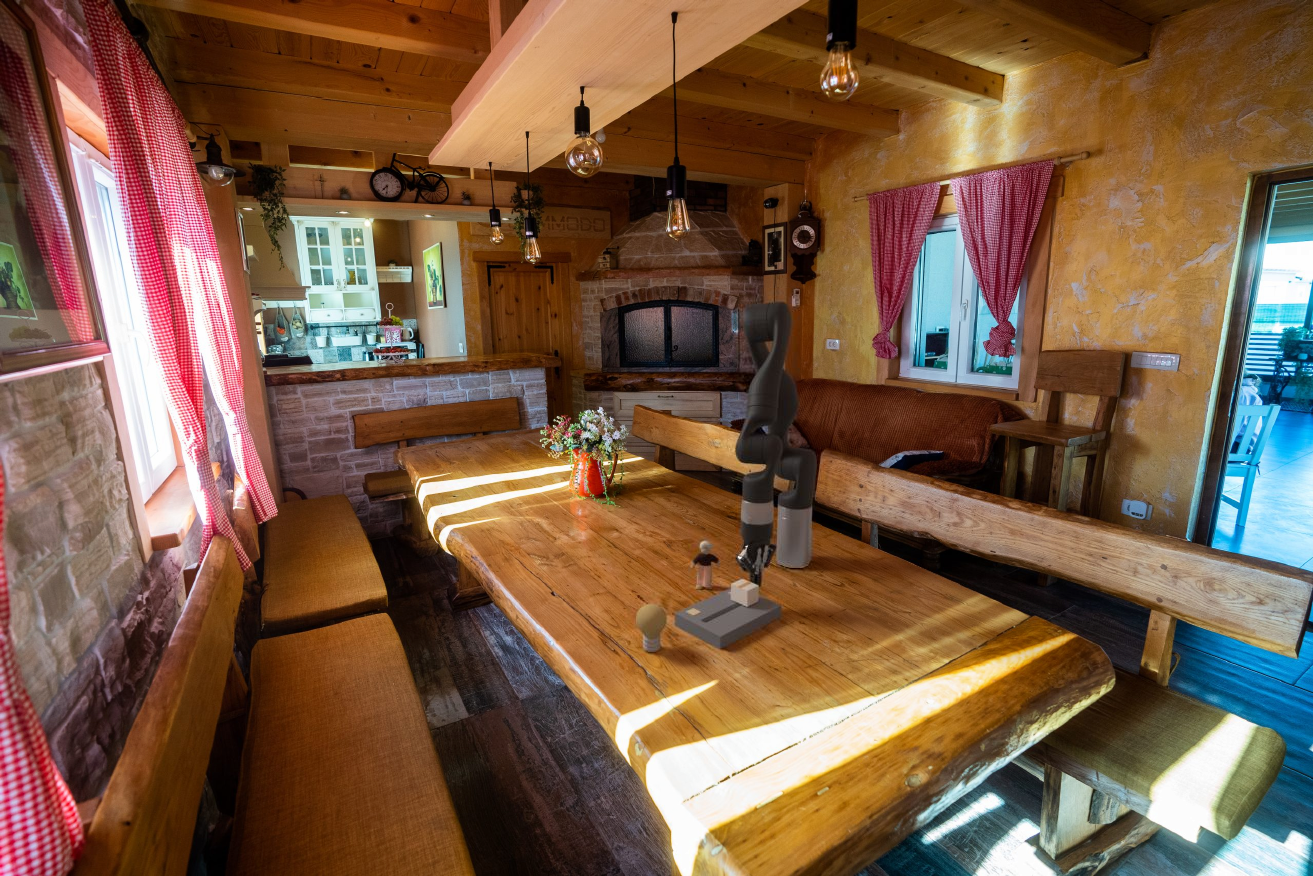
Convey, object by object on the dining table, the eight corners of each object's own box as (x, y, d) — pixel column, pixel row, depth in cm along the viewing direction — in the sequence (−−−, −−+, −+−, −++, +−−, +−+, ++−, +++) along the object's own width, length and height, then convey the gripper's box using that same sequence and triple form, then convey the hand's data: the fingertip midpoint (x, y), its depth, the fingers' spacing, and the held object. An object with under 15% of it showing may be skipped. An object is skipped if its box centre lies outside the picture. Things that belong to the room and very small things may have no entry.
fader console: (736, 596, 157) (736, 585, 156) (781, 616, 147) (781, 604, 146) (674, 625, 144) (674, 612, 143) (720, 649, 133) (720, 636, 133)
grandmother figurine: (694, 592, 160) (694, 545, 157) (689, 585, 164) (689, 539, 161) (722, 588, 162) (723, 541, 159) (717, 582, 166) (717, 536, 163)
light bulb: (649, 638, 138) (649, 596, 136) (672, 647, 134) (672, 604, 132) (630, 650, 133) (629, 606, 131) (653, 660, 129) (653, 616, 127)
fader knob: (742, 594, 151) (742, 578, 150) (758, 601, 148) (758, 585, 147) (730, 599, 149) (730, 583, 148) (747, 606, 145) (747, 590, 144)
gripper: (762, 507, 153) (760, 574, 157) (726, 520, 145) (725, 590, 148) (787, 515, 148) (785, 583, 152) (751, 528, 139) (749, 600, 143)
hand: (755, 586), depth 150 cm, fingers closed
